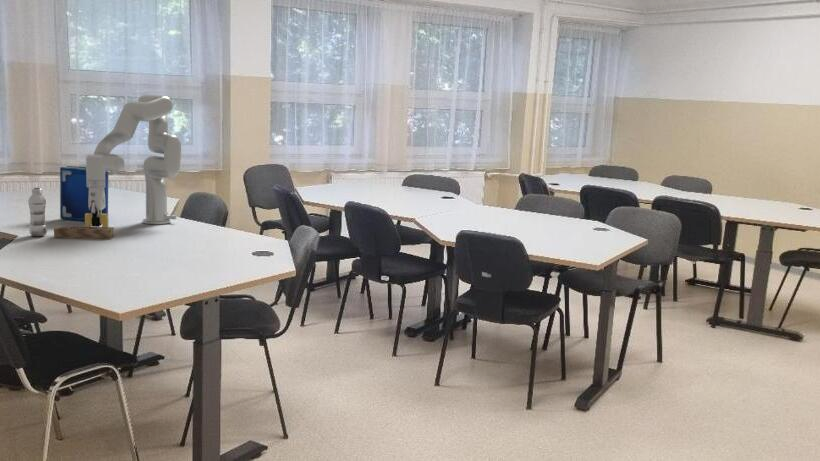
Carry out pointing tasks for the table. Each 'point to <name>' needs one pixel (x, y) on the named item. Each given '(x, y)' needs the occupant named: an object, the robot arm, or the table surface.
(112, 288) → the table surface
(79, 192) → the book
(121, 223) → the table surface
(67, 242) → the table surface
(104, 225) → the yellow notched flat block
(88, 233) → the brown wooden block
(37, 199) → the plastic bottle
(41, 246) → the table surface
